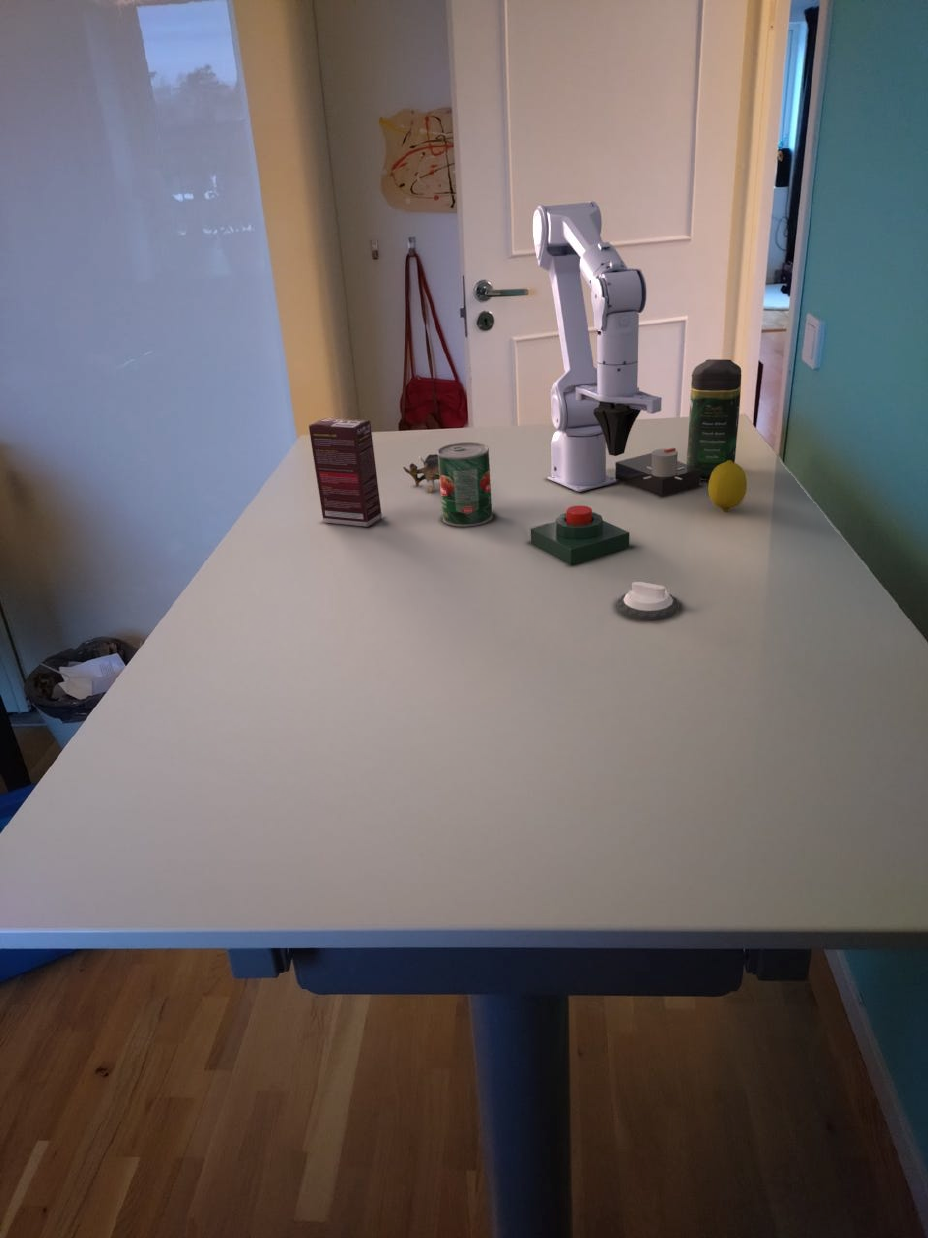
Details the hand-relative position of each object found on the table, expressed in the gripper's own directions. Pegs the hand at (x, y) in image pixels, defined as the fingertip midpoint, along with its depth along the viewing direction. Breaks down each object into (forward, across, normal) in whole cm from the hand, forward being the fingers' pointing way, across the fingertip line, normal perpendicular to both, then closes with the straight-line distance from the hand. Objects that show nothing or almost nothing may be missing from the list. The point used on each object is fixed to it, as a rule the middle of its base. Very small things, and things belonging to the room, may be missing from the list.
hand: (616, 453), depth 134 cm
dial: (+6, +1, -12) cm, 14 cm away
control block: (+9, -4, +13) cm, 17 cm away
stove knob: (+10, -24, +22) cm, 34 cm away
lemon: (+10, -12, -11) cm, 19 cm away
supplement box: (+10, +30, +28) cm, 43 cm away
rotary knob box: (+9, +3, -14) cm, 17 cm away
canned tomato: (+10, +16, +16) cm, 25 cm away
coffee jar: (+10, 0, -24) cm, 26 cm away
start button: (+6, -4, +13) cm, 15 cm away
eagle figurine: (+10, +32, +10) cm, 34 cm away
